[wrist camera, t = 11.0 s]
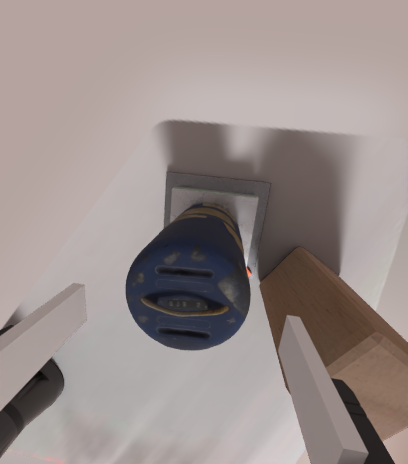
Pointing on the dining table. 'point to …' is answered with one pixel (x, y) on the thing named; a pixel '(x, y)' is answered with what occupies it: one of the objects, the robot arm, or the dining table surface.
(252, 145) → the dining table surface
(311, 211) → the dining table surface
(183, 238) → the canister
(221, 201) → the stand
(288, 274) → the block
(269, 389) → the dining table surface
